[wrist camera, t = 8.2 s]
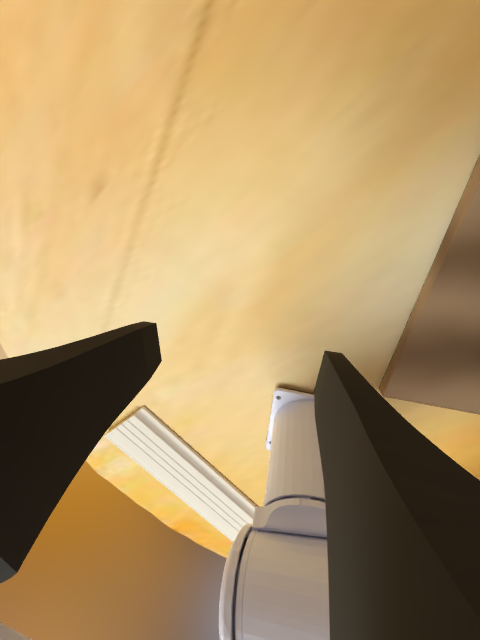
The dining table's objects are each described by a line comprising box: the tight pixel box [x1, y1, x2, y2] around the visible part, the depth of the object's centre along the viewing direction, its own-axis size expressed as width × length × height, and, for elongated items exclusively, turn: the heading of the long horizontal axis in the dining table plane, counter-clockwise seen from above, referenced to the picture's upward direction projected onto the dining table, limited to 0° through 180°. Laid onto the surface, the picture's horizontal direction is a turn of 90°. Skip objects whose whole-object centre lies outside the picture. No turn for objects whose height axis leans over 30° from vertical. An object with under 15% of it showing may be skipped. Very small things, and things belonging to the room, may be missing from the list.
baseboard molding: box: [104, 406, 257, 542], centre depth 33 cm, size 31×3×12 cm
